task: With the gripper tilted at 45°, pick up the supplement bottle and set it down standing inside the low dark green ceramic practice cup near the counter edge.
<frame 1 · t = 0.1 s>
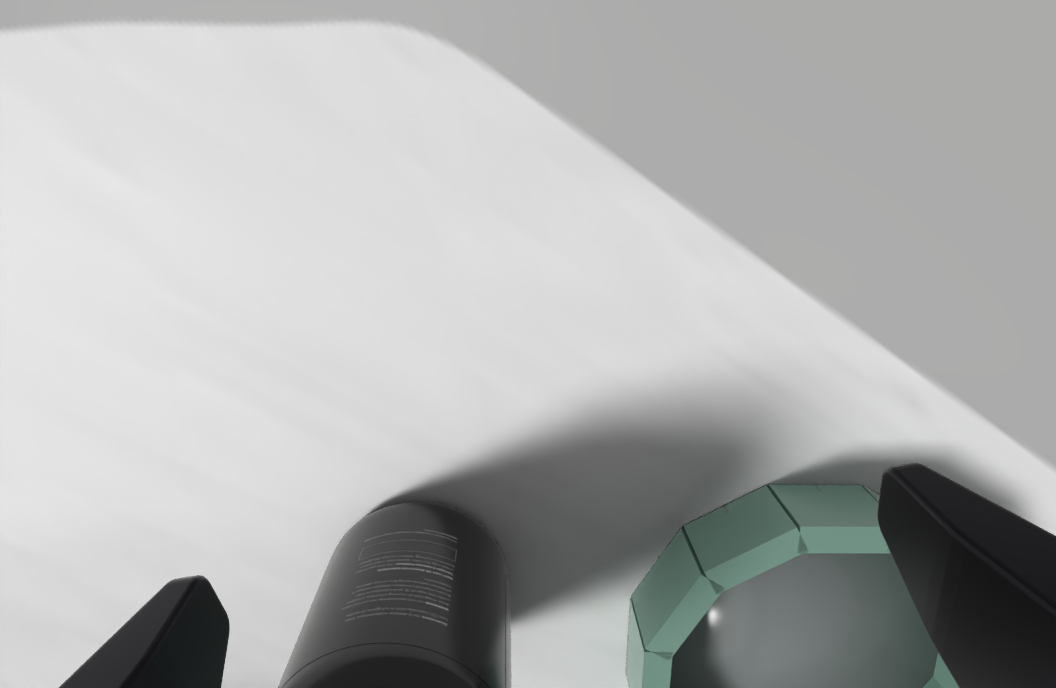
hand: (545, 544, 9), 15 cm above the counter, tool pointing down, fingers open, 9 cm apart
supplement bottle: (422, 573, 27), on the counter
practice cup: (793, 635, 28), on the counter
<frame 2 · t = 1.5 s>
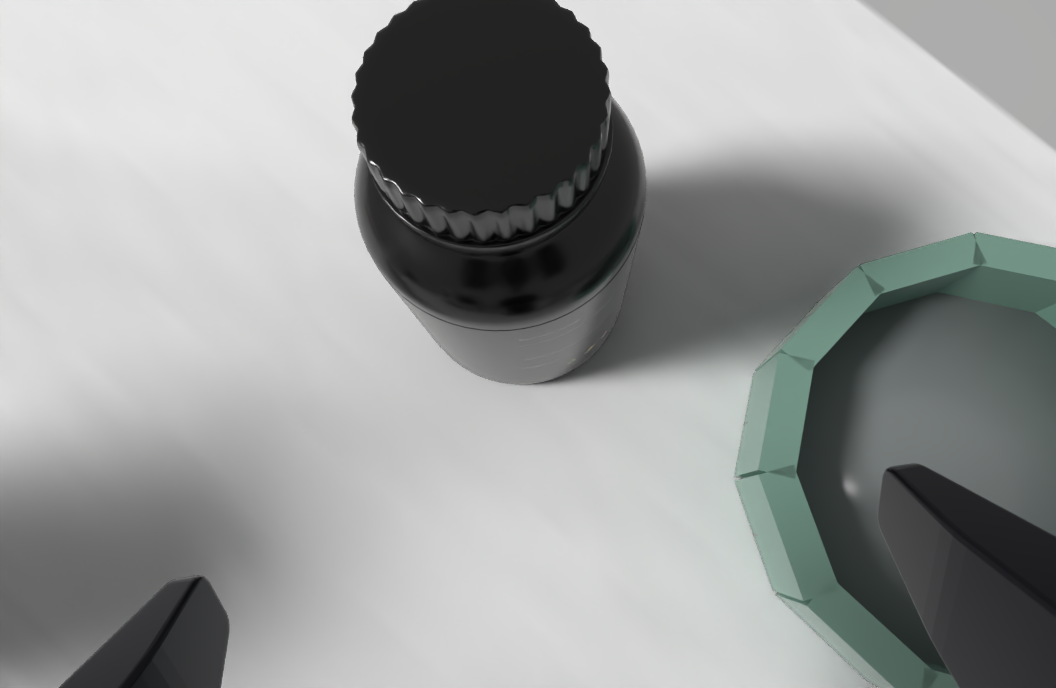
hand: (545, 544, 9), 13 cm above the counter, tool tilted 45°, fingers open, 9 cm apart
supplement bottle: (523, 294, 25), on the counter
practice cup: (957, 475, 22), on the counter
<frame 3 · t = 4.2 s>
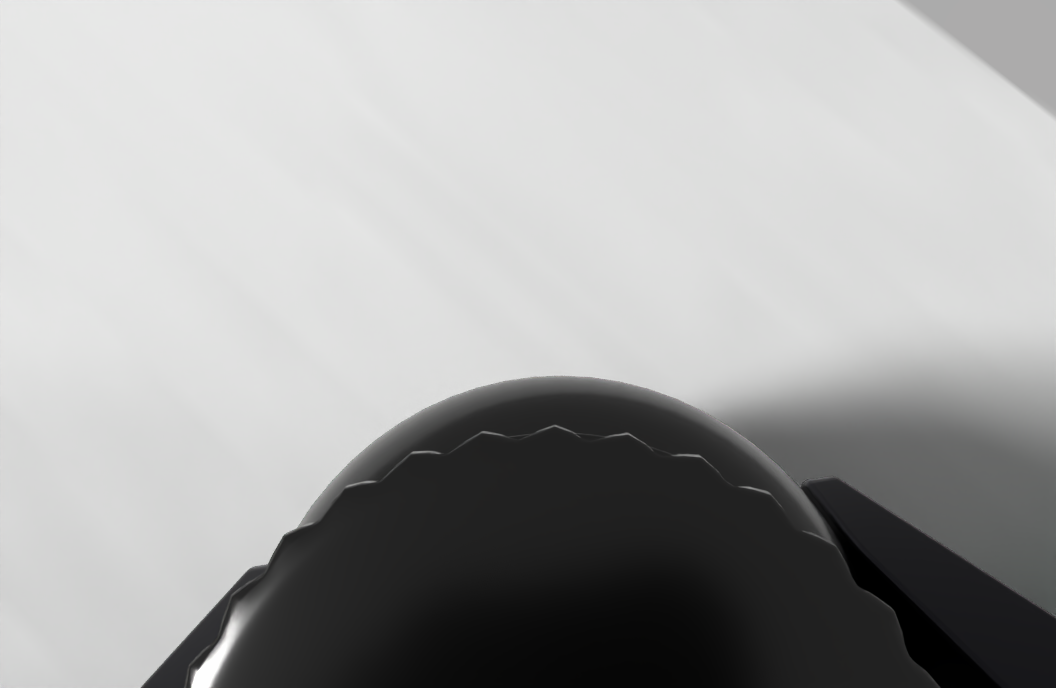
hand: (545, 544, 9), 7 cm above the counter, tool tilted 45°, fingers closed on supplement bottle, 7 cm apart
supplement bottle: (566, 602, 16), on the counter, touching gripper
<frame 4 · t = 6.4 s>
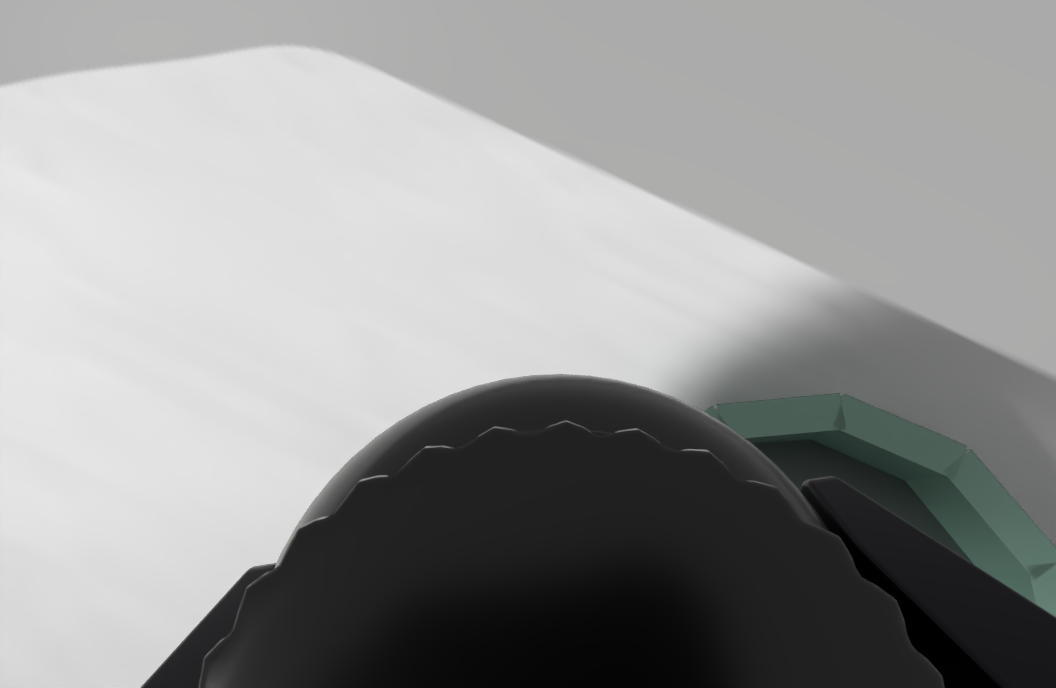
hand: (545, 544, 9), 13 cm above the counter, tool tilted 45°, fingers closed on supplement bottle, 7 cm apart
supplement bottle: (557, 600, 16), point 6 cm above the counter, touching gripper
practice cup: (786, 633, 21), on the counter
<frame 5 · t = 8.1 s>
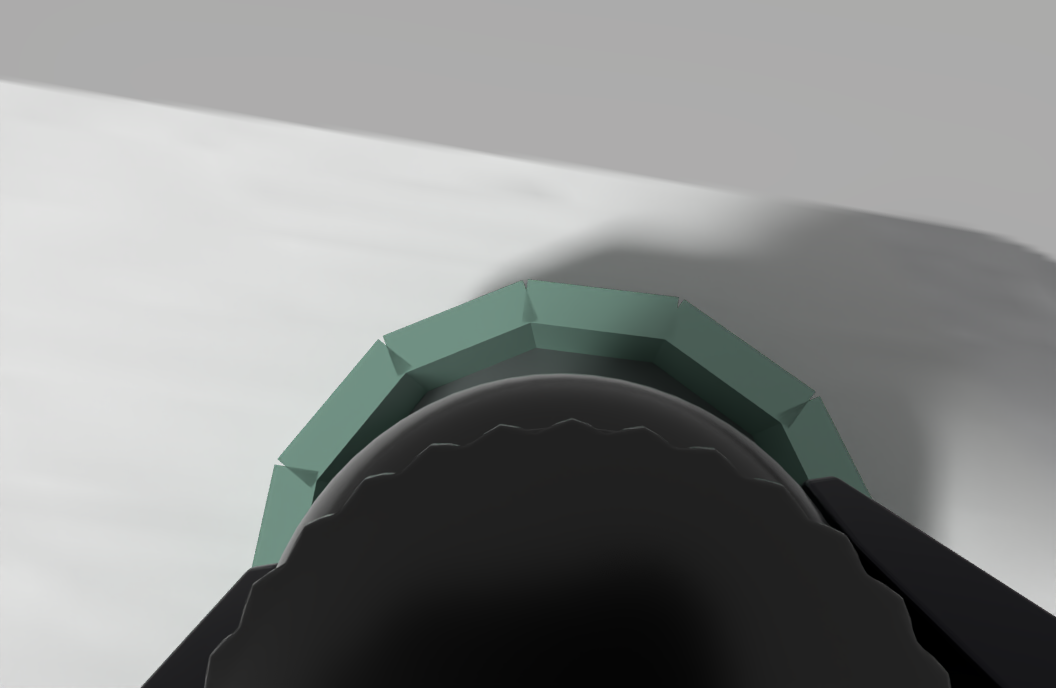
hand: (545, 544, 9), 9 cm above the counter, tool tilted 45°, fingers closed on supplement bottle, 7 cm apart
supplement bottle: (557, 600, 16), point 2 cm above the counter, touching gripper
practice cup: (565, 580, 18), on the counter
when the fingers open (7 cm above the counter, at t = 9.0 s): supplement bottle stays where it is, resting on practice cup.
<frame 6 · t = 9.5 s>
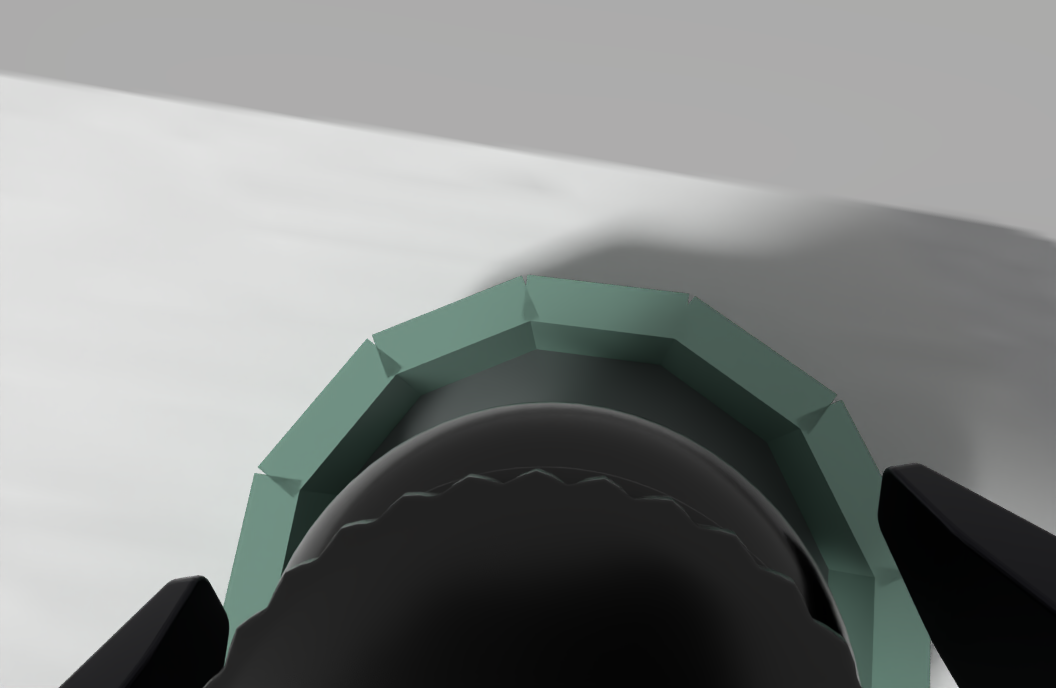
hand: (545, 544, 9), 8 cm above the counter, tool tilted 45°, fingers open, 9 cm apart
supplement bottle: (560, 609, 16), resting on practice cup
practice cup: (567, 597, 16), on the counter
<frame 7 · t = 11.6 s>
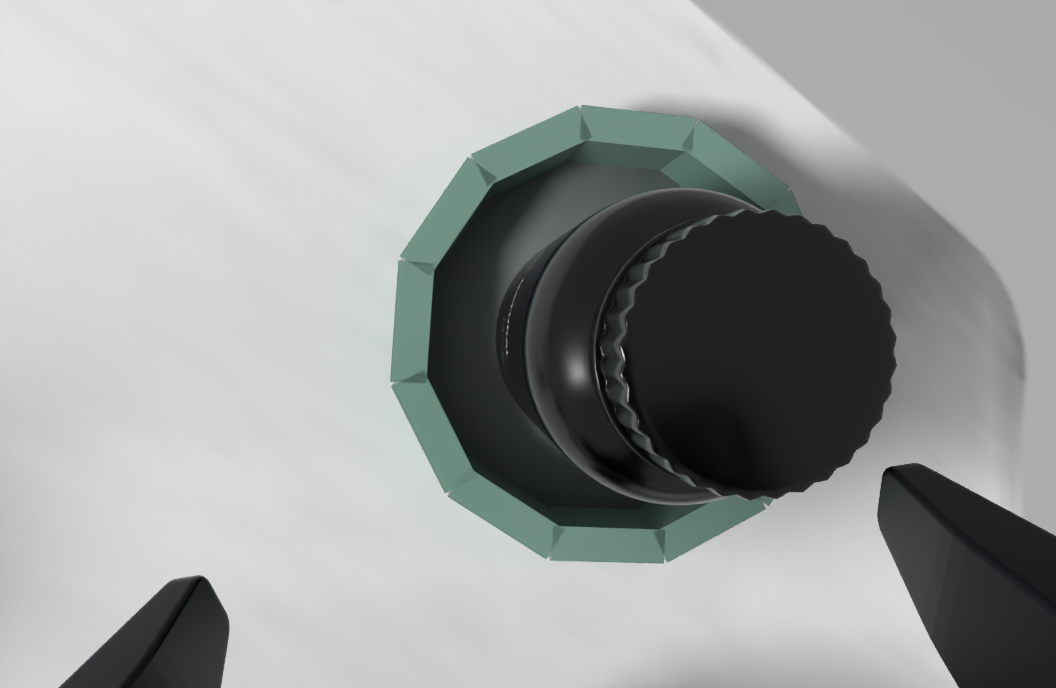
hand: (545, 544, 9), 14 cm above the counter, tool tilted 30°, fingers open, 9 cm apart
supplement bottle: (594, 340, 24), resting on practice cup
practice cup: (599, 336, 24), on the counter
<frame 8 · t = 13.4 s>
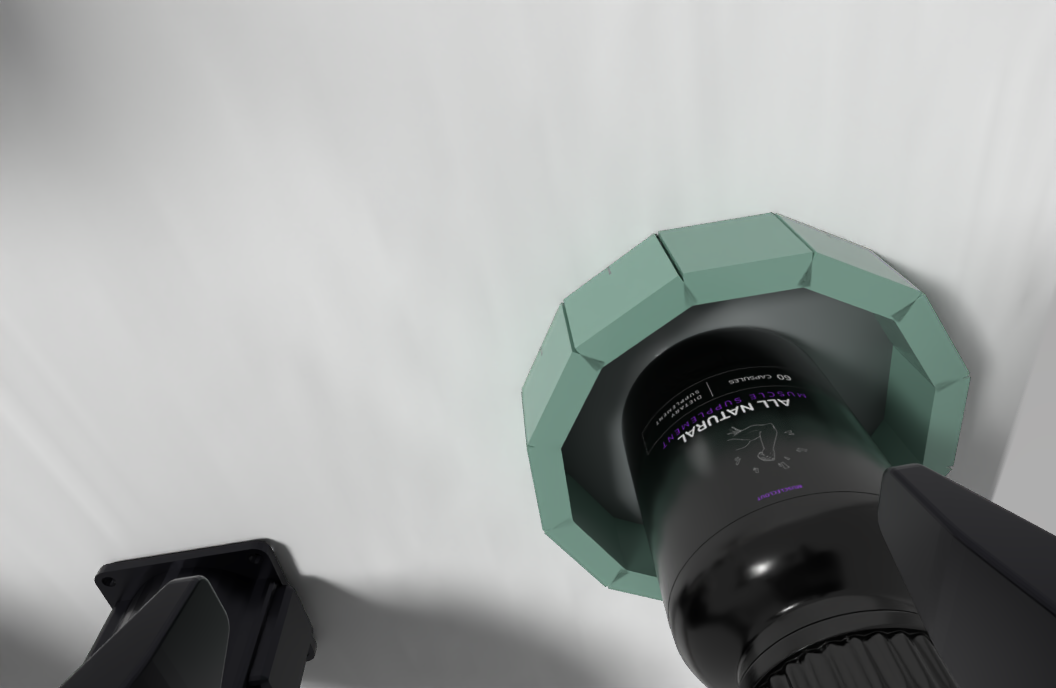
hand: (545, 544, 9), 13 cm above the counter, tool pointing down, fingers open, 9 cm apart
supplement bottle: (713, 404, 24), resting on practice cup
practice cup: (718, 401, 25), on the counter
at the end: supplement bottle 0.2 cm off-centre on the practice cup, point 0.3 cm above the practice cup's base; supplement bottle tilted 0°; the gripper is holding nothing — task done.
